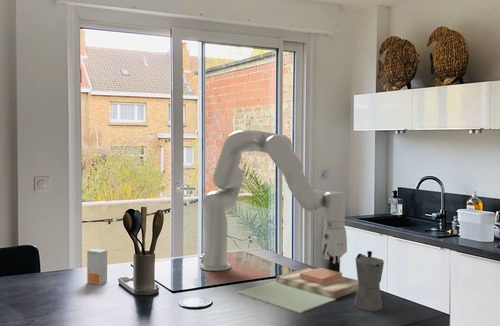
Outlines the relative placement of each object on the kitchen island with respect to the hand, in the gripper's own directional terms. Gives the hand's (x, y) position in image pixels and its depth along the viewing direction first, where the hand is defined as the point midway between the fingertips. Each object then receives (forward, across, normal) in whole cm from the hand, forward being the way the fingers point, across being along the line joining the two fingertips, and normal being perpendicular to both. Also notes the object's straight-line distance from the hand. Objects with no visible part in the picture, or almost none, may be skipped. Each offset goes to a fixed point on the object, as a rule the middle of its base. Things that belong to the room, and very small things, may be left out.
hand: (333, 272), depth 196 cm
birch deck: (+3, -9, 0) cm, 9 cm away
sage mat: (+3, -27, 0) cm, 27 cm away
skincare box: (+3, -65, +58) cm, 88 cm away
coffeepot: (+3, -15, -24) cm, 28 cm away
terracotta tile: (+1, -8, 0) cm, 8 cm away
